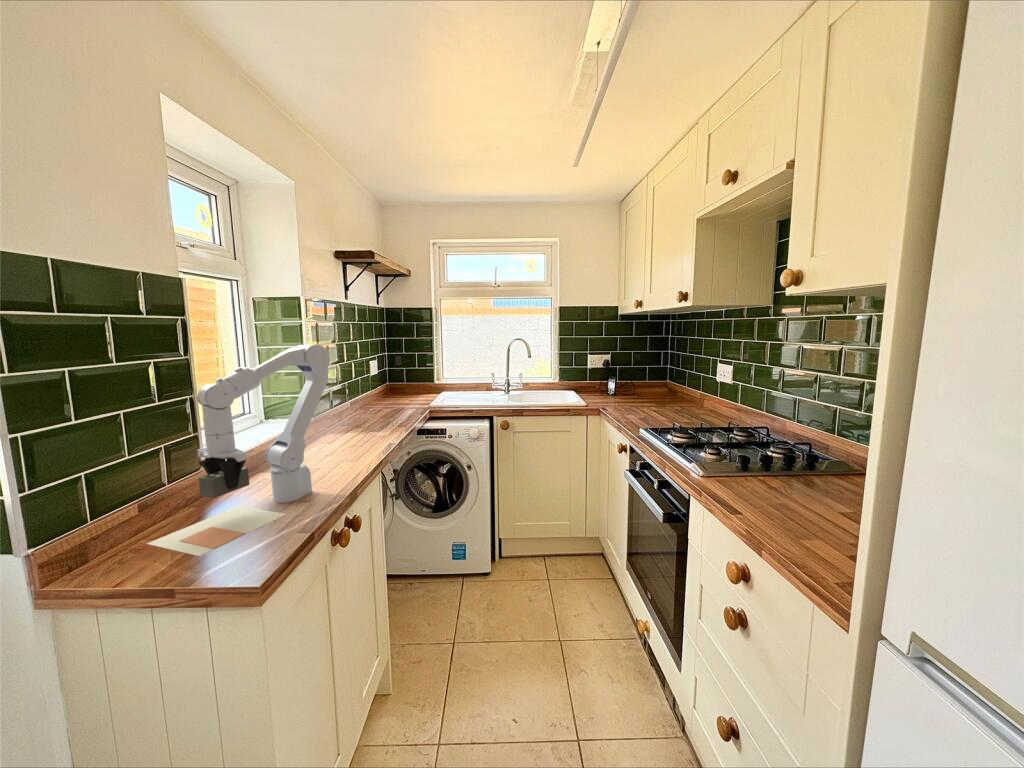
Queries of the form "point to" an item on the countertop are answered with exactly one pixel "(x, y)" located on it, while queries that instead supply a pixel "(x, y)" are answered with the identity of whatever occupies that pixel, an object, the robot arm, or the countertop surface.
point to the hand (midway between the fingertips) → (225, 486)
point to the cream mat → (216, 530)
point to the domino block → (220, 483)
